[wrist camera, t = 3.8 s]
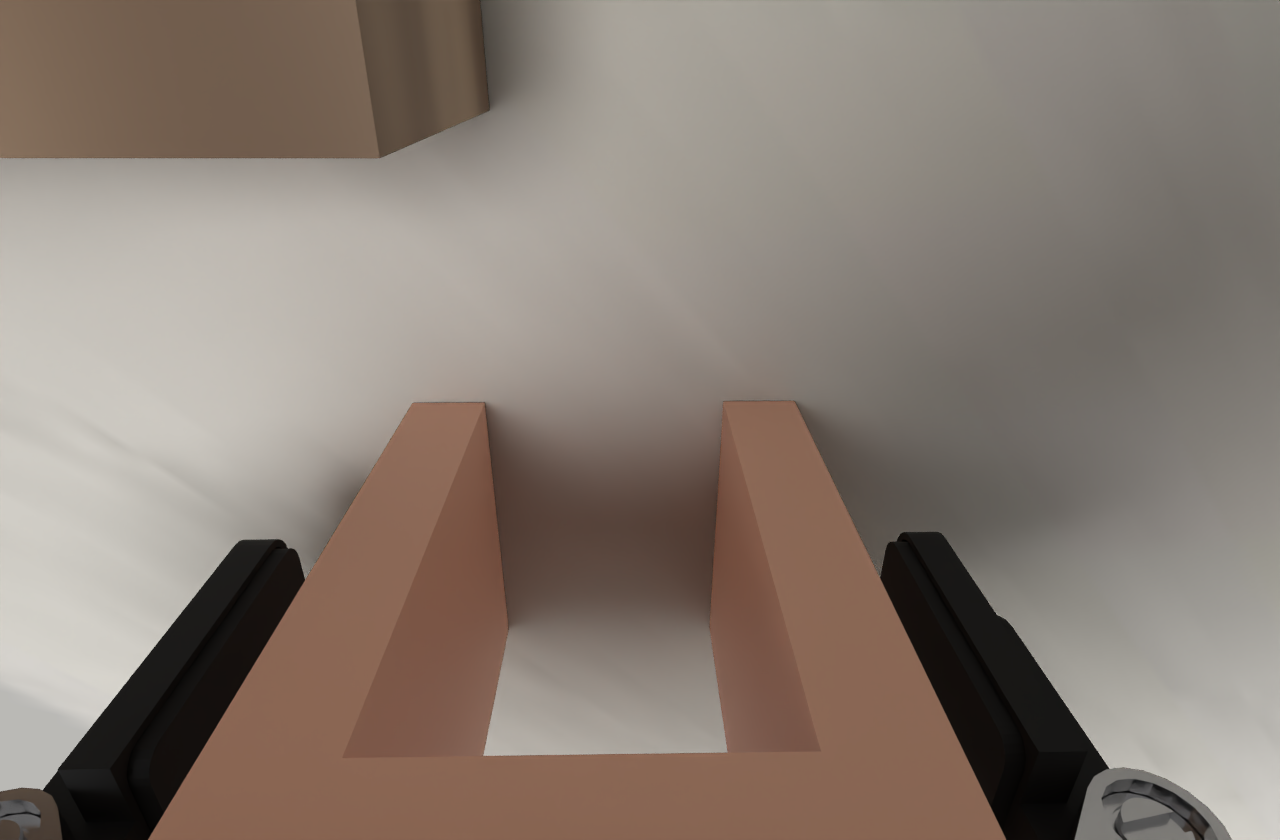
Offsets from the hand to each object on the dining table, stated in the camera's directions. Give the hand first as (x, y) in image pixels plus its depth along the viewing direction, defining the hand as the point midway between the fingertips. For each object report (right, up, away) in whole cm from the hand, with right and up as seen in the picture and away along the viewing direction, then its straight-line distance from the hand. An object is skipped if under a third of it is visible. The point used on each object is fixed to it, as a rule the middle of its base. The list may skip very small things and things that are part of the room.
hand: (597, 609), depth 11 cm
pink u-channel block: (0, +1, +2) cm, 2 cm away
